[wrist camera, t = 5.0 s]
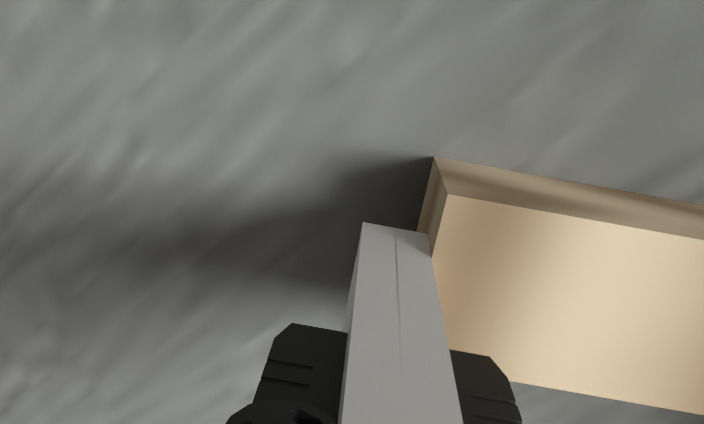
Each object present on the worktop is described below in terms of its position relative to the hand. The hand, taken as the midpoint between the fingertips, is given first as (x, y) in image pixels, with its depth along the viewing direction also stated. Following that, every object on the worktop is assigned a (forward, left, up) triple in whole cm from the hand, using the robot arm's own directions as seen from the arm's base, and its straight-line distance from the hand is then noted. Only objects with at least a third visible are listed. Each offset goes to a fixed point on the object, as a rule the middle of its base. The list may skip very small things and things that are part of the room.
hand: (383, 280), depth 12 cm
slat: (+8, +1, -2) cm, 8 cm away
